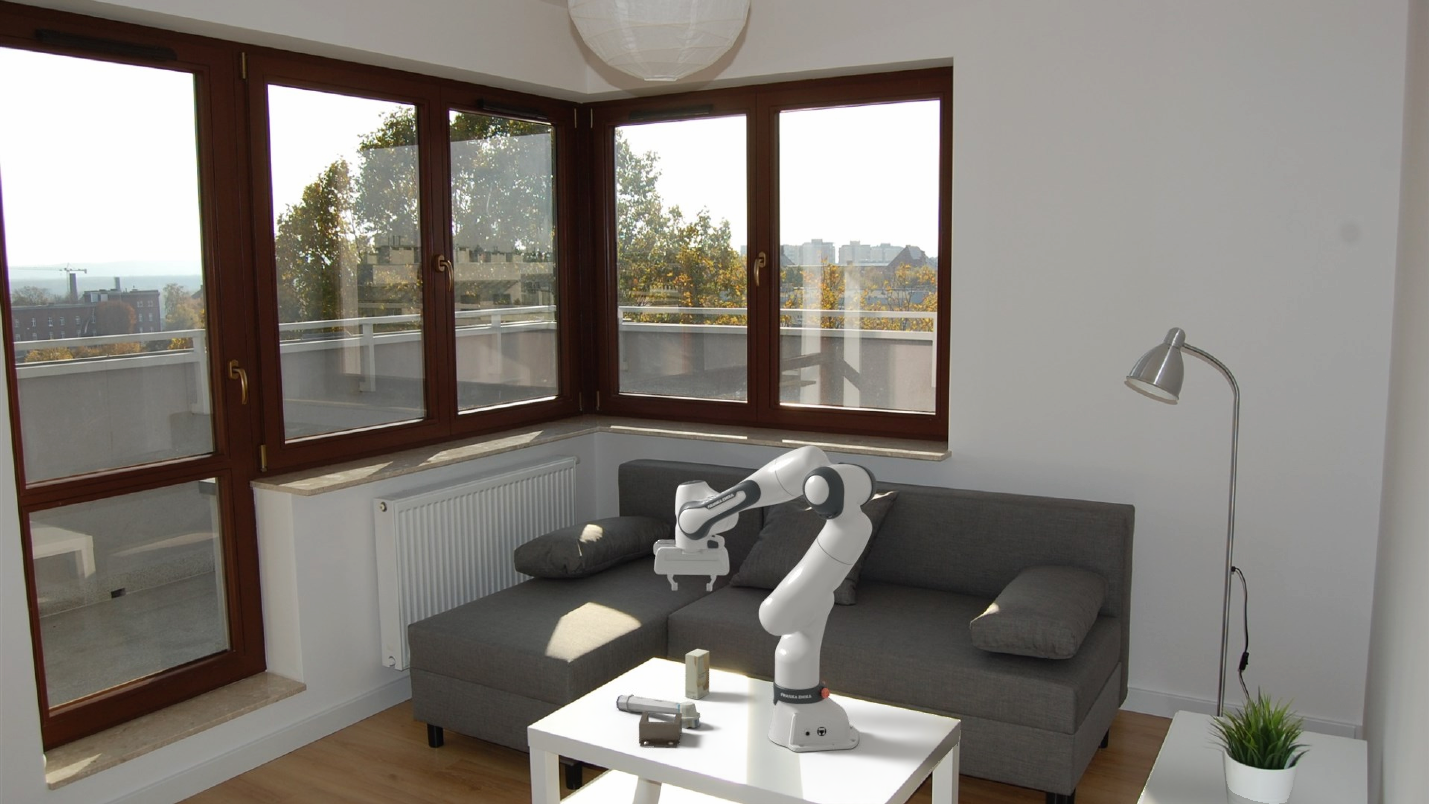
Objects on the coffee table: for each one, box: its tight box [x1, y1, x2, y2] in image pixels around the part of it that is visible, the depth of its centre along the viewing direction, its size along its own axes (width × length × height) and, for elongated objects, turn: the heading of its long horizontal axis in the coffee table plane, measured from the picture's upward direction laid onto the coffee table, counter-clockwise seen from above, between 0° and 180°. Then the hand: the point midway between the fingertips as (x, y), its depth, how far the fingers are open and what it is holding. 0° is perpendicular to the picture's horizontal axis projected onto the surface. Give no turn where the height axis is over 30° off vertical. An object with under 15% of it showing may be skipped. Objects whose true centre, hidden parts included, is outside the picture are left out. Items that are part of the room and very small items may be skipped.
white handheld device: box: [615, 693, 701, 729], centre depth 282 cm, size 5×7×25 cm
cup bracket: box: [638, 712, 683, 749], centre depth 268 cm, size 10×10×5 cm
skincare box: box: [684, 648, 710, 700], centre depth 297 cm, size 6×4×12 cm
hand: (691, 590), depth 290 cm, fingers open, 8 cm apart
